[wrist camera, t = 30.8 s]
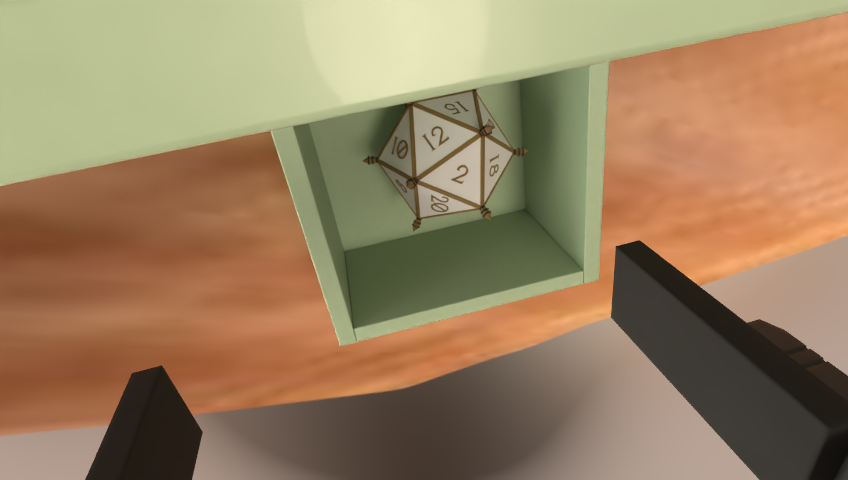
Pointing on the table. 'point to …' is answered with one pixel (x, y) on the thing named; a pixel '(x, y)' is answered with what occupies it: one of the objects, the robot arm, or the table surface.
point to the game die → (446, 155)
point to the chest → (456, 233)
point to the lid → (300, 62)
